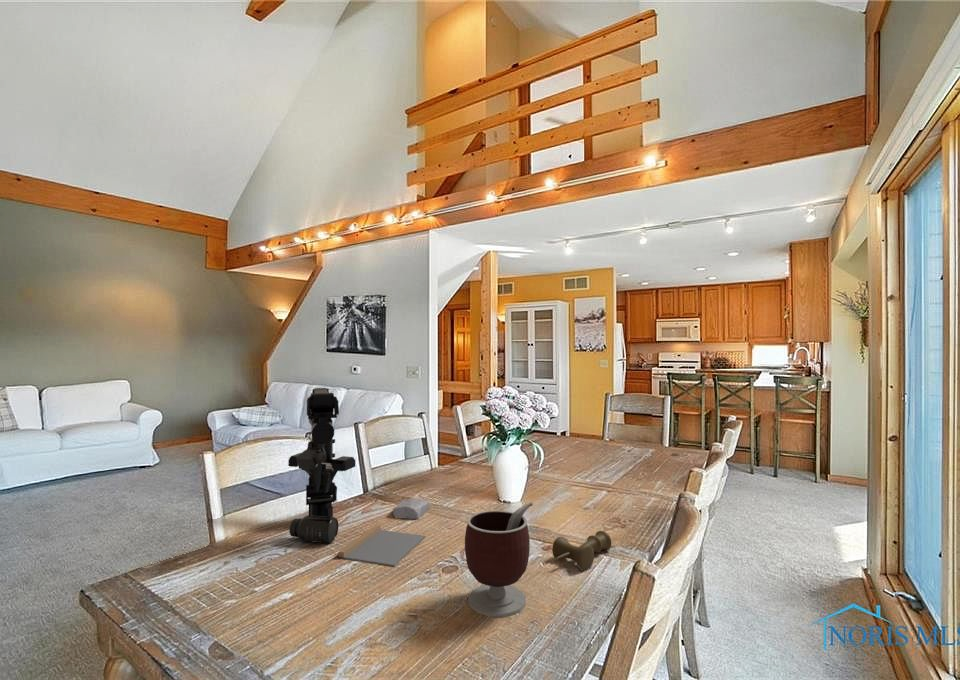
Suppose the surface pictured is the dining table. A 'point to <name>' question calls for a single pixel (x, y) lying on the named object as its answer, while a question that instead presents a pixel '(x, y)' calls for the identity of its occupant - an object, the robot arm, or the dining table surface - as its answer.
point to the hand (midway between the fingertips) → (321, 492)
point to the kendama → (581, 549)
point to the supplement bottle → (315, 528)
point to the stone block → (411, 508)
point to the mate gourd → (497, 560)
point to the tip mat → (381, 546)
